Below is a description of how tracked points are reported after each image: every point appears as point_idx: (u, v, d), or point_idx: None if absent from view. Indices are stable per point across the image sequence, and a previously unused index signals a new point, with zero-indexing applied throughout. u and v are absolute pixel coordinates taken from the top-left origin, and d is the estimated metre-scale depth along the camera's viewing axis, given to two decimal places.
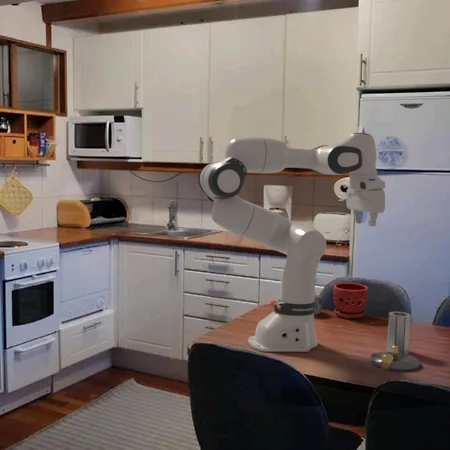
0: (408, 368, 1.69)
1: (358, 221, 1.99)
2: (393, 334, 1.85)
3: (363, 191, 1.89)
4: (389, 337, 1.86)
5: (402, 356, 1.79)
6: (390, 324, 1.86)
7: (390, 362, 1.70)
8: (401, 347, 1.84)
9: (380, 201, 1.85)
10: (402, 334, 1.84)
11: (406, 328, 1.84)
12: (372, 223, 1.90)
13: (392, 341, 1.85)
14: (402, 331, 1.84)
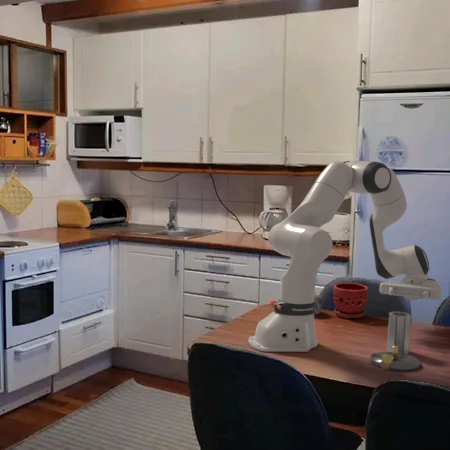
0: (408, 368, 1.69)
1: (394, 291, 1.99)
2: (393, 334, 1.85)
3: (427, 281, 2.05)
4: (389, 337, 1.86)
5: (402, 356, 1.79)
6: (390, 324, 1.86)
7: (390, 362, 1.70)
8: (401, 347, 1.84)
9: None
10: (402, 334, 1.84)
11: (406, 328, 1.84)
12: (424, 294, 1.95)
13: (392, 341, 1.85)
14: (402, 331, 1.84)
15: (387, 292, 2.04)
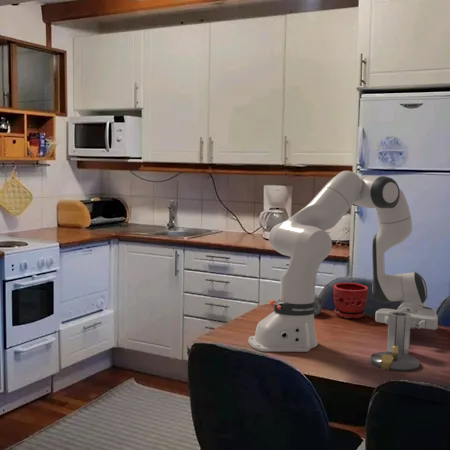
0: (408, 368, 1.69)
1: None
2: (393, 334, 1.85)
3: (424, 310, 2.02)
4: (389, 337, 1.86)
5: (402, 356, 1.79)
6: (390, 324, 1.86)
7: (390, 362, 1.70)
8: (401, 347, 1.84)
9: None
10: (402, 334, 1.84)
11: (406, 328, 1.84)
12: (420, 324, 1.93)
13: (392, 341, 1.85)
14: (402, 331, 1.84)
15: (383, 320, 2.02)
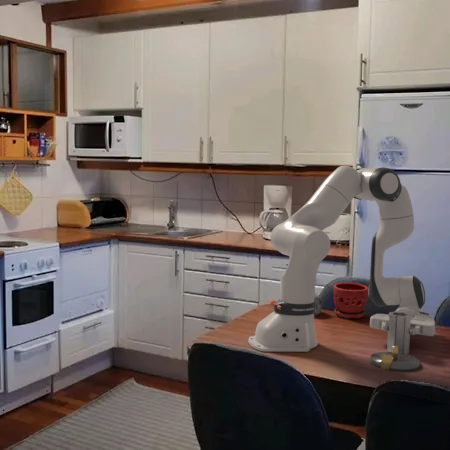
0: (408, 368, 1.69)
1: (387, 327, 1.88)
2: (393, 334, 1.85)
3: (420, 315, 1.94)
4: (389, 337, 1.86)
5: (402, 356, 1.79)
6: (390, 324, 1.86)
7: (390, 362, 1.70)
8: (401, 347, 1.84)
9: None
10: (402, 334, 1.84)
11: (406, 328, 1.84)
12: (414, 330, 1.85)
13: (392, 341, 1.85)
14: (402, 331, 1.84)
15: (378, 326, 1.93)
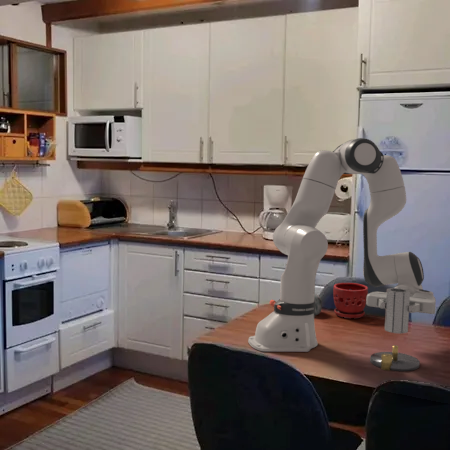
0: (408, 368, 1.69)
1: None
2: (391, 311, 1.73)
3: (420, 293, 1.82)
4: (387, 315, 1.74)
5: (402, 356, 1.79)
6: (388, 301, 1.73)
7: (390, 362, 1.70)
8: (400, 325, 1.72)
9: None
10: (401, 311, 1.72)
11: (405, 305, 1.72)
12: (414, 308, 1.73)
13: (390, 319, 1.73)
14: (401, 308, 1.71)
15: (375, 304, 1.81)
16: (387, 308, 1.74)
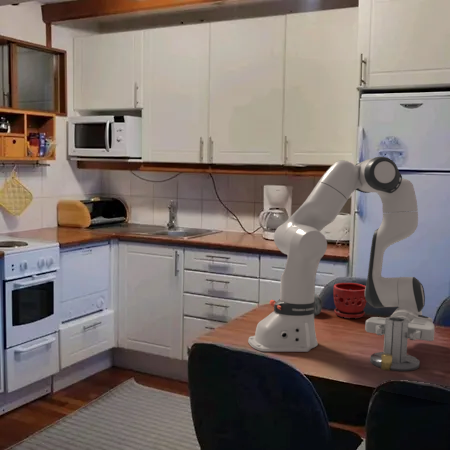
0: (408, 368, 1.69)
1: (382, 331, 1.77)
2: (389, 341, 1.73)
3: (419, 319, 1.82)
4: (385, 344, 1.75)
5: None
6: (386, 330, 1.74)
7: (390, 362, 1.70)
8: (398, 355, 1.73)
9: None
10: (399, 341, 1.72)
11: (403, 334, 1.72)
12: (415, 335, 1.73)
13: (388, 348, 1.74)
14: (399, 337, 1.72)
15: (374, 331, 1.82)
16: (385, 337, 1.74)
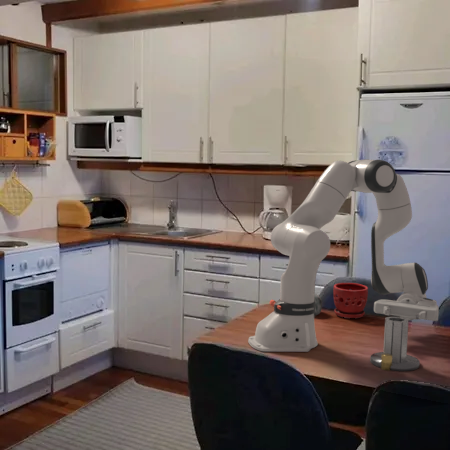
0: (408, 368, 1.69)
1: (389, 311, 1.89)
2: (389, 341, 1.73)
3: (424, 301, 1.95)
4: (385, 344, 1.75)
5: None
6: (386, 330, 1.74)
7: (390, 362, 1.70)
8: (398, 355, 1.73)
9: None
10: (399, 341, 1.72)
11: (403, 334, 1.72)
12: (420, 315, 1.86)
13: (388, 348, 1.74)
14: (399, 337, 1.72)
15: (382, 311, 1.94)
16: (385, 337, 1.74)
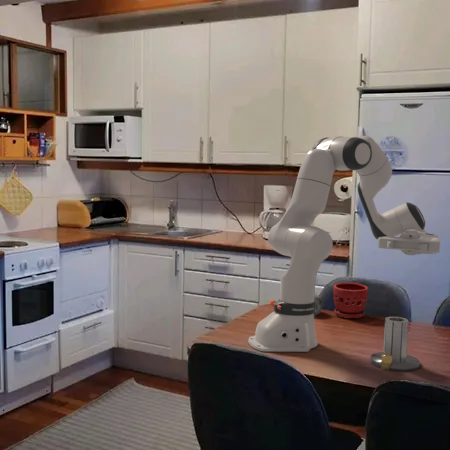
0: (408, 368, 1.69)
1: (393, 244, 1.97)
2: (389, 341, 1.73)
3: (426, 236, 2.03)
4: (385, 344, 1.75)
5: None
6: (386, 330, 1.74)
7: (390, 362, 1.70)
8: (398, 355, 1.73)
9: None
10: (399, 341, 1.72)
11: (403, 334, 1.72)
12: (423, 246, 1.93)
13: (388, 348, 1.74)
14: (399, 337, 1.72)
15: (385, 246, 2.02)
16: (385, 337, 1.74)
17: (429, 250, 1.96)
